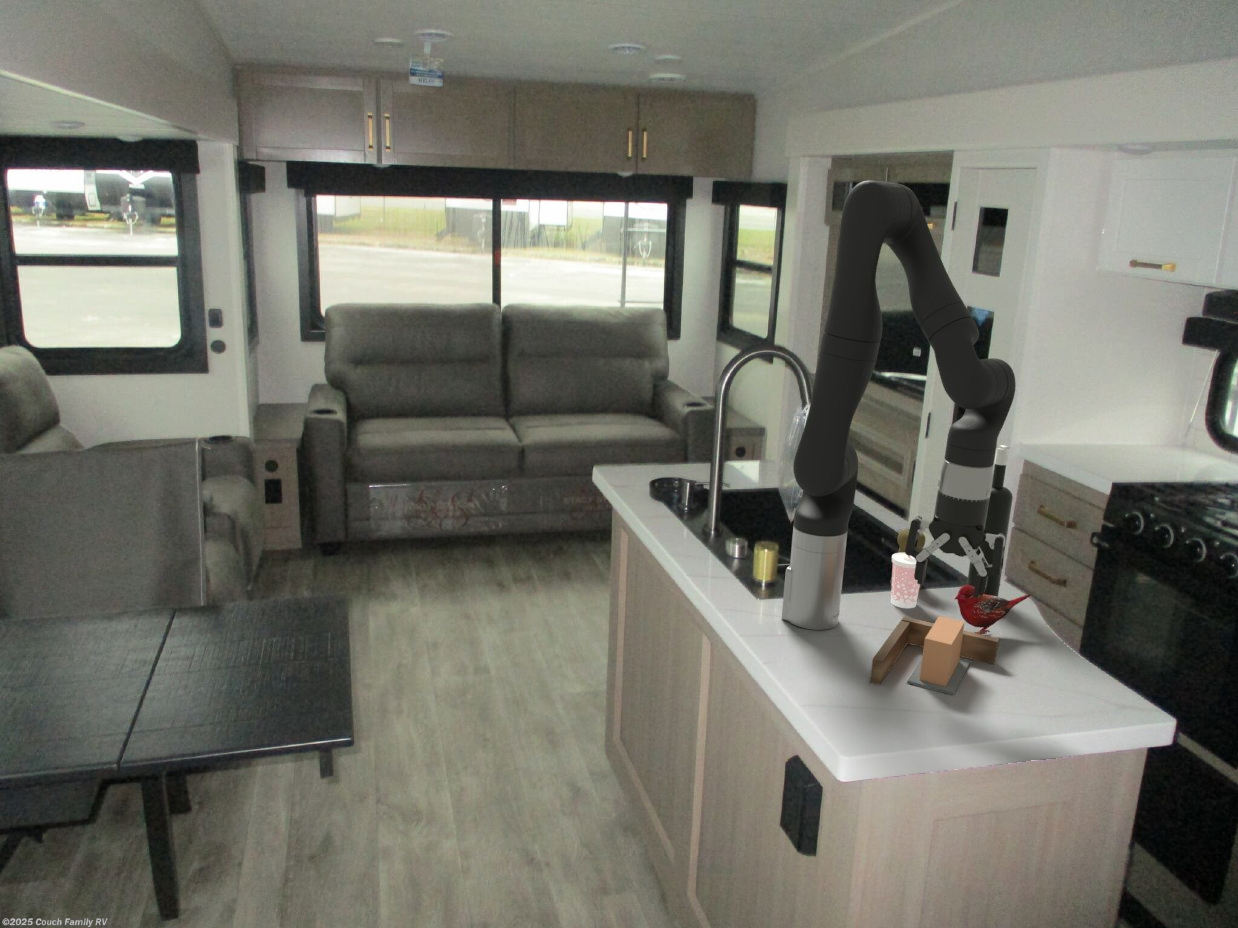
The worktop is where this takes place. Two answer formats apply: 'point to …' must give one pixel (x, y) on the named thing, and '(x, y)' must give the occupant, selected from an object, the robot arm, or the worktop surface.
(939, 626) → the terracotta block
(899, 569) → the beverage cup
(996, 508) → the wine bottle
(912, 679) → the slate pad
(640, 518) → the worktop surface
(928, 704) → the worktop surface
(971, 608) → the decorative bird figurine
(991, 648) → the walnut corner
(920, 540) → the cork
